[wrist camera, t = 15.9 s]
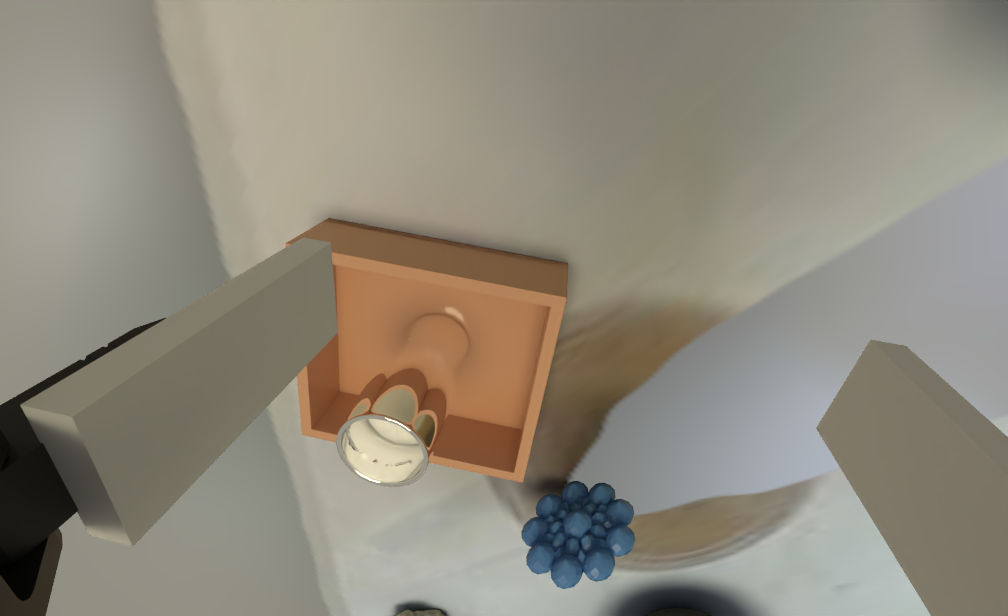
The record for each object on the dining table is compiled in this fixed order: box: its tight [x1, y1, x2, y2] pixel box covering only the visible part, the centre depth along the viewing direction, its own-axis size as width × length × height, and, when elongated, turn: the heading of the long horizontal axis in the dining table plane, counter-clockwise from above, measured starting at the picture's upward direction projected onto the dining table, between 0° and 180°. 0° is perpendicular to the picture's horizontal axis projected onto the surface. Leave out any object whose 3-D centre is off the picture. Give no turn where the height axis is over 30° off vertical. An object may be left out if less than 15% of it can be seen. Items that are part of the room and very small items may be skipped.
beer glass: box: [336, 314, 469, 487], centre depth 38 cm, size 7×7×15 cm
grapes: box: [522, 481, 635, 589], centre depth 47 cm, size 12×7×12 cm, turn 99°
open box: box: [286, 218, 568, 483], centre depth 42 cm, size 22×20×7 cm
